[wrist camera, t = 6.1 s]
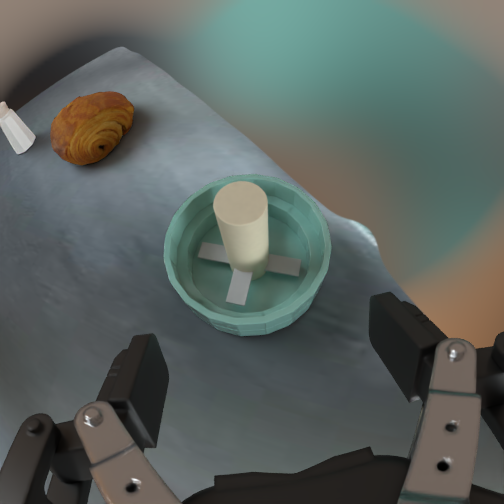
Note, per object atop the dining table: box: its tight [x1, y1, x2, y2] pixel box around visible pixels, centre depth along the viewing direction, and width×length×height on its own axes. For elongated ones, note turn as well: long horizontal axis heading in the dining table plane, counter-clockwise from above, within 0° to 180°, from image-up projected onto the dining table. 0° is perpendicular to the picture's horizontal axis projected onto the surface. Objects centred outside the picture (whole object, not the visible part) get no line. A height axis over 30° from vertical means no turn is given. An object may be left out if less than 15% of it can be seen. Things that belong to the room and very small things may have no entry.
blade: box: [198, 181, 301, 306], centre depth 28 cm, size 10×10×11 cm
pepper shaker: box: [0, 102, 36, 154], centre depth 42 cm, size 5×5×11 cm
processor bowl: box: [164, 174, 332, 336], centre depth 31 cm, size 15×15×6 cm
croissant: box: [50, 92, 134, 165], centre depth 42 cm, size 14×16×8 cm
